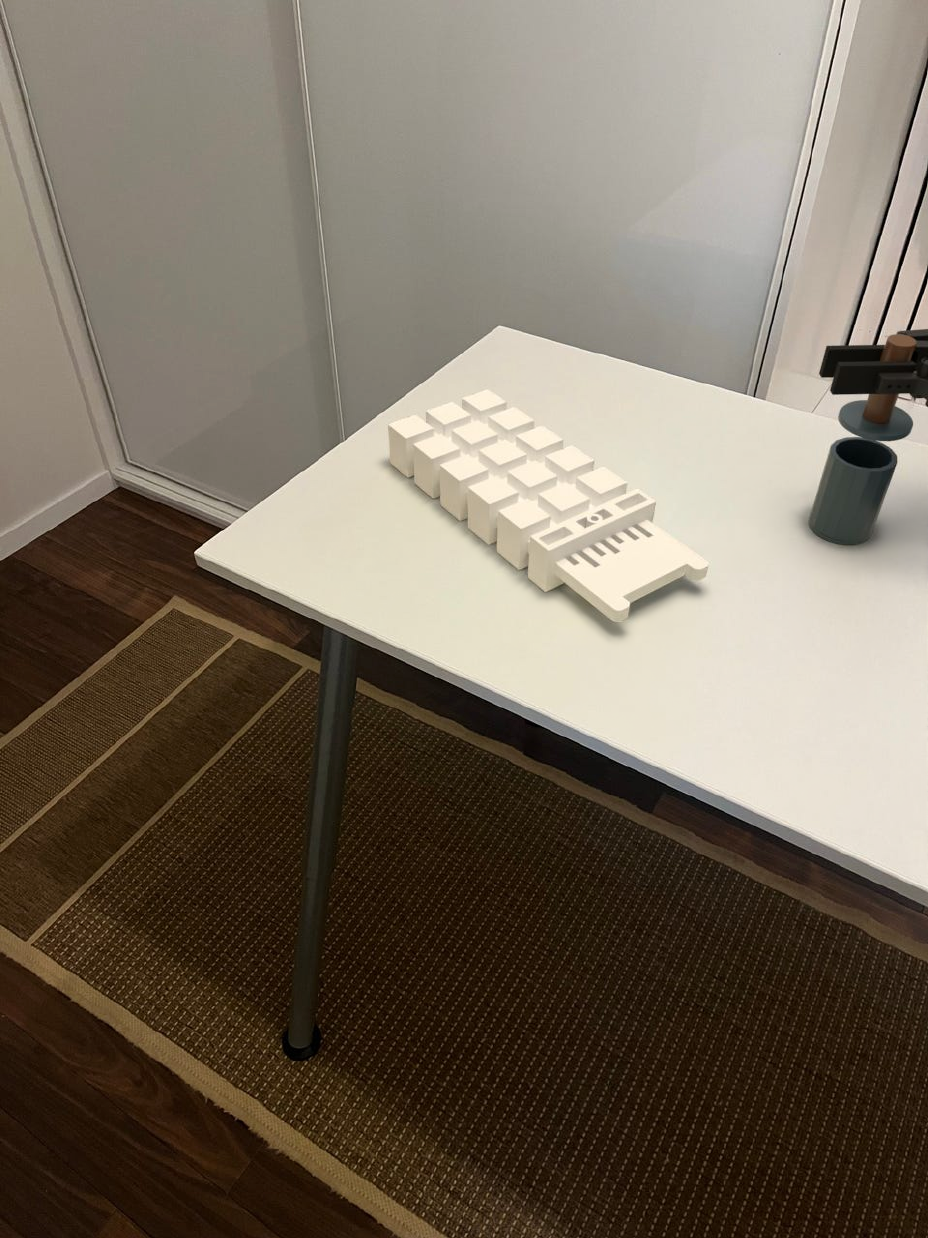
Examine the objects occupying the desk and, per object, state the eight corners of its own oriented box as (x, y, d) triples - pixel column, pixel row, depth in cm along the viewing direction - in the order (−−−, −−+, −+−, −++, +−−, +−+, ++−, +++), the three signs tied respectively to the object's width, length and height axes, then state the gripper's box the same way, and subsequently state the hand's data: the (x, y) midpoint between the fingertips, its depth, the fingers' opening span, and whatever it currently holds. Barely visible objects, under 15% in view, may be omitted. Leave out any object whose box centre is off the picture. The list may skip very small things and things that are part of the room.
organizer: (487, 389, 105) (721, 545, 84) (486, 427, 108) (712, 586, 87) (387, 424, 99) (612, 600, 78) (390, 463, 102) (606, 642, 81)
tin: (871, 515, 95) (897, 442, 90) (871, 549, 91) (898, 475, 85) (810, 504, 97) (831, 432, 91) (807, 538, 93) (829, 464, 87)
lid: (908, 417, 88) (940, 329, 82) (910, 452, 84) (943, 361, 78) (837, 406, 89) (863, 319, 84) (835, 440, 85) (862, 350, 79)
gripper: (1121, 449, 80) (847, 454, 79) (1033, 363, 91) (793, 367, 91) (1165, 367, 75) (873, 372, 74) (1067, 288, 86) (813, 291, 86)
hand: (830, 369), depth 82 cm, fingers closed on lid, 2 cm apart
